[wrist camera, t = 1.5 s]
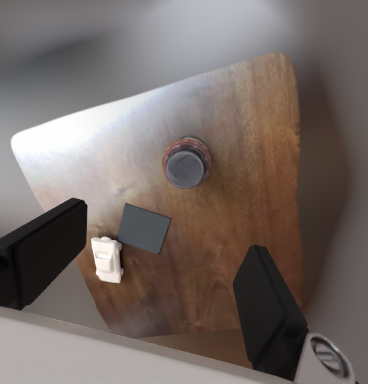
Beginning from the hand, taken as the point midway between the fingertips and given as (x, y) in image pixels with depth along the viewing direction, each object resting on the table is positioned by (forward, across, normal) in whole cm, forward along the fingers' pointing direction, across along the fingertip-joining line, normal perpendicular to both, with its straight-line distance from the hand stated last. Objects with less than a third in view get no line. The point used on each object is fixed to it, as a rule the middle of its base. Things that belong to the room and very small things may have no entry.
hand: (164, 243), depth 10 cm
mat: (+21, +6, +15) cm, 26 cm away
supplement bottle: (+21, 0, -2) cm, 21 cm away
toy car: (+21, +11, +23) cm, 33 cm away
